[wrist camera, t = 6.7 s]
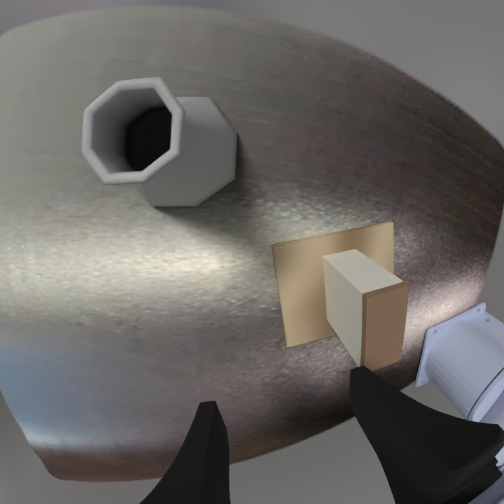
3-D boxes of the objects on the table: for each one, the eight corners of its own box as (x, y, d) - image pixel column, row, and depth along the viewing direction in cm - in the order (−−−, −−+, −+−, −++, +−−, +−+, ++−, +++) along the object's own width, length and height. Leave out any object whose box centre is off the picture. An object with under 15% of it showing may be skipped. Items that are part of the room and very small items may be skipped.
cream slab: (355, 249, 19) (408, 285, 12) (357, 311, 20) (400, 360, 14) (322, 256, 18) (366, 297, 12) (327, 319, 20) (363, 374, 14)
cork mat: (390, 221, 19) (393, 222, 18) (389, 315, 21) (391, 317, 21) (271, 245, 18) (272, 246, 18) (286, 344, 21) (287, 347, 20)
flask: (144, 223, 17) (69, 285, 8) (113, 119, 15) (18, 84, 5) (252, 188, 17) (292, 214, 8) (221, 81, 15) (224, -7, 6)
